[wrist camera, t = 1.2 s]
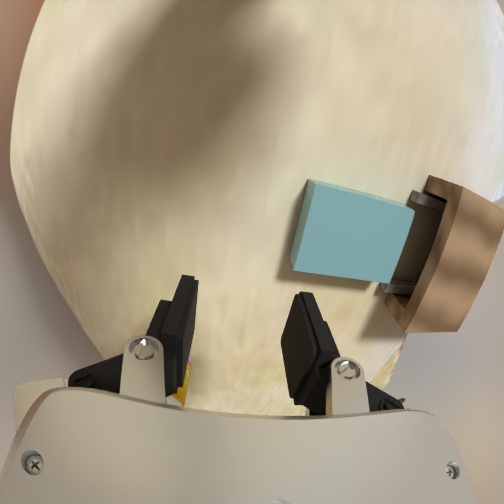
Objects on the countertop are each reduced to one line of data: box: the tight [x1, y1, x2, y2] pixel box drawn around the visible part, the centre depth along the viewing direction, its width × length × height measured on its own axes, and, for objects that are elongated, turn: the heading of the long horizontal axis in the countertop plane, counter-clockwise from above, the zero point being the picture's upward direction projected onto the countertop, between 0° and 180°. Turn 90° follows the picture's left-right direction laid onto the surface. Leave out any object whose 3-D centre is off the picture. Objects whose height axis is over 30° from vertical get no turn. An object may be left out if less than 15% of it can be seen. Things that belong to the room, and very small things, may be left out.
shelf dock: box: [380, 175, 504, 333], centre depth 28 cm, size 18×13×6 cm
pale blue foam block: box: [289, 179, 415, 283], centre depth 28 cm, size 9×12×3 cm
